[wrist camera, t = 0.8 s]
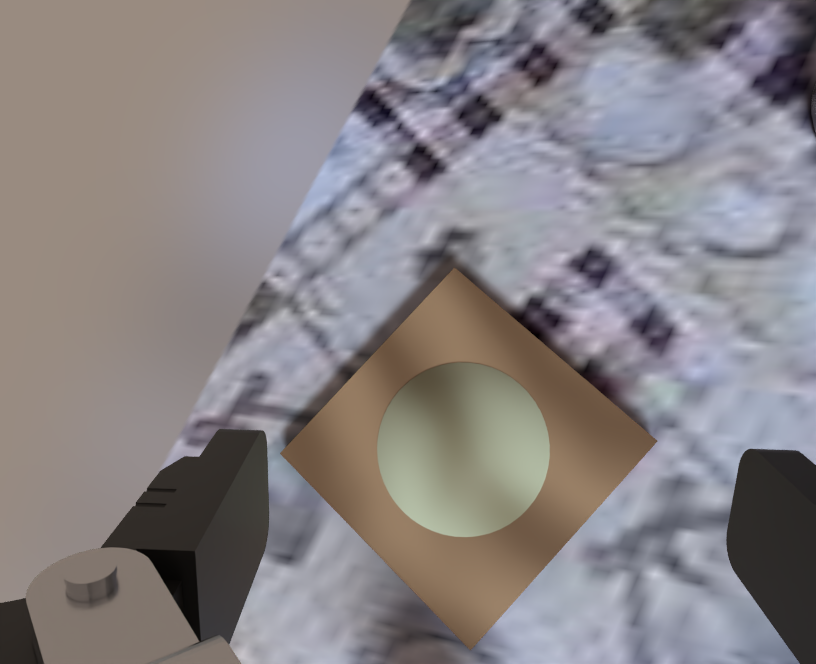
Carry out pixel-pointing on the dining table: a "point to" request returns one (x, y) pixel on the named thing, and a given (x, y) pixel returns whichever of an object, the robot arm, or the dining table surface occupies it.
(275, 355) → the dining table surface
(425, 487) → the walnut board
